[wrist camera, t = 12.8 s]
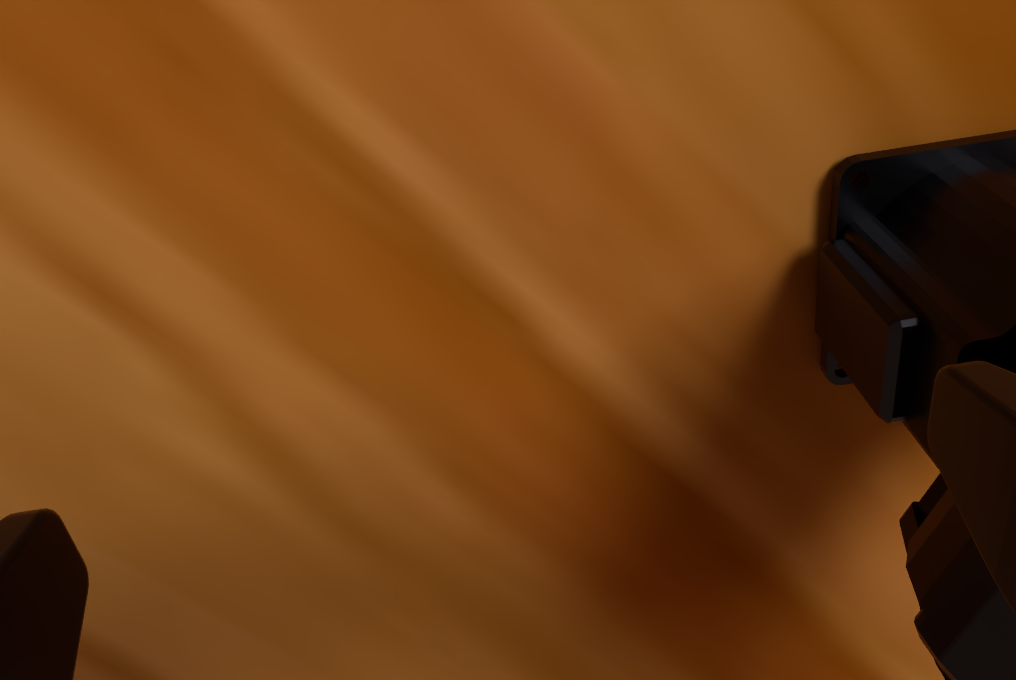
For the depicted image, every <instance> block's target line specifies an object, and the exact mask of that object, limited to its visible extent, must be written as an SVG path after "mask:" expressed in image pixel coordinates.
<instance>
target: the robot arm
mask: <svg viewBox="0 0 1016 680" xmlns="http://www.w3.org/2000/svg"><path fill="white" fill-rule="evenodd" d="M861 170H863V171H864V174H863V177H862V179H861V180H860V181H859V182H857V183H855V184H850V179H851V177H852V176H853V175H854V174H855V173H856V172H858V171H861ZM815 332H816V333H817V335H818V336H819V337H820V339H821V340H822V347H821V362H820V366H821V370H822V372H823V373H824V375H825V376H826V378H827V379H828V380H829V381H830V382H831V383H833V384H836V385H845V384H851V383H853V384H854V385H855V386H856V388H857V389H858V390H859V392H860V393H861V394H862V396H863V397H864V398H865V400H866V401H867V402H868V404H869V405H870V407H871V408H872V409H873V411H874V412H875V413H876V415H877V416H879V417H880V418H881V419H883V420H884V421H885V422H887V423H894V422H900V421H902V422H903V423H904V425H905V426H906V427H907V429H908V430H909V431H910V432H911V434H912V435H913V436H914V438H915V439H916V440H917V442H918V443H919V444H920V445H921V447H922V448H923V449H924V451H925V452H926V453H927V455H928V456H929V457H930V458H931V460H932V461H933V462H934V464H935V465H936V466H937V468H938V469H939V470H940V472H941V473H940V474H939V475H938V477H937V478H936V480H935V481H934V482H933V484H932V485H931V486H930V488H929V489H928V490H927V492H926V493H925V494H924V496H923V497H922V498H921V500H920V501H919V502H912V504H911V505H910V506H909V508H908V509H907V510H906V512H905V513H904V514H903V516H902V517H901V519H900V521H899V523H900V527H901V531H902V535H903V539H904V543H905V548H906V552H907V561H906V568H907V571H908V574H909V577H910V580H911V582H912V585H913V588H914V591H915V594H916V596H917V599H918V602H919V606H920V612H919V613H918V614H917V615H916V617H915V620H914V623H915V626H916V629H917V631H918V634H919V637H920V639H921V640H922V642H923V643H924V645H925V646H926V648H927V649H928V650H929V652H930V653H931V655H932V656H933V658H934V660H935V663H936V665H937V666H938V668H939V670H940V671H941V673H942V675H943V676H944V678H945V680H1016V130H1012V131H1005V132H999V133H993V134H986V135H980V136H973V137H967V138H960V139H954V140H948V141H941V142H935V143H928V144H922V145H915V146H909V147H902V148H896V149H890V150H883V151H877V152H870V153H864V154H857V155H853V156H850V157H847V158H846V159H844V160H843V161H842V162H840V164H839V165H838V166H837V168H836V169H835V172H834V176H833V185H832V200H831V214H830V229H829V240H827V241H826V242H825V244H824V245H823V247H822V248H821V250H820V252H819V268H818V284H817V301H816V317H815ZM838 365H840V366H841V367H842V368H840V369H838V370H837V369H836V367H837V366H838ZM88 587H89V578H88V572H87V568H86V565H85V563H84V561H83V559H82V557H81V555H80V553H79V551H78V549H77V547H76V546H75V544H74V542H73V540H72V538H71V536H70V534H69V532H68V530H67V529H66V527H65V525H64V523H63V521H62V519H61V518H60V516H59V515H58V514H57V513H56V512H55V511H53V510H50V509H38V510H31V511H25V512H19V513H14V514H10V515H8V516H6V517H5V518H3V519H2V520H1V521H0V680H73V677H74V671H75V665H76V659H77V653H78V647H79V641H80V636H81V630H82V624H83V618H84V612H85V606H86V600H87V594H88Z"/></svg>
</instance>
